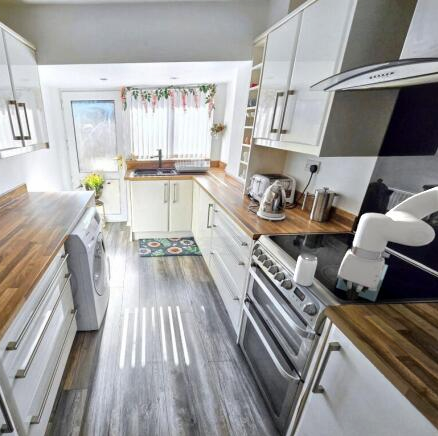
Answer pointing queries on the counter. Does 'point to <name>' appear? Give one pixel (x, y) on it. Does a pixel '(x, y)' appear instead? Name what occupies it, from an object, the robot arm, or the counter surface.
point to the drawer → (365, 293)
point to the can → (305, 269)
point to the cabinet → (378, 285)
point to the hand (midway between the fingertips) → (351, 298)
